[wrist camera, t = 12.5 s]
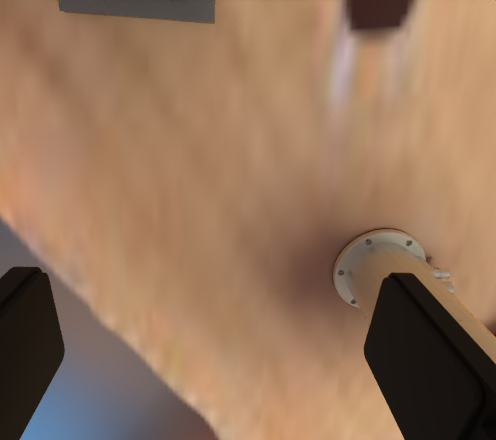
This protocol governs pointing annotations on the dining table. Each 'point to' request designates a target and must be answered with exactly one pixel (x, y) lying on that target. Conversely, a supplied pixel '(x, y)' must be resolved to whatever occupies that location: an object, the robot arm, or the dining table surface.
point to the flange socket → (146, 9)
